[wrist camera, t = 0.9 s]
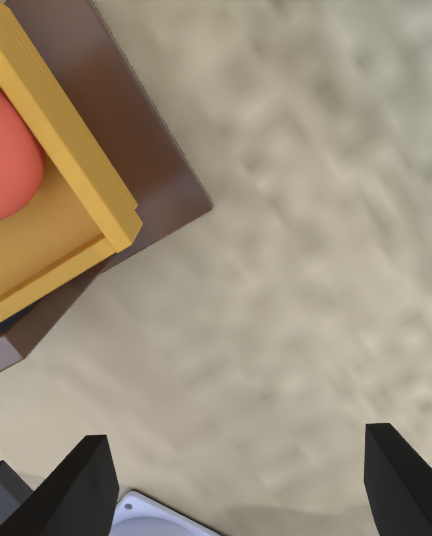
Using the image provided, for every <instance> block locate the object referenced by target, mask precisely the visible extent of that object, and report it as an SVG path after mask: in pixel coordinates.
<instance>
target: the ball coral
mask: <svg viewBox="0 0 432 536" xmlns="http://www.w3.org/2000/svg"><path fill="white" fill-rule="evenodd" d="M44 169H45V150H44V148H43V147H42V146H41V144H40V143H39V141H38V140H37V138H36V137H35V136H34V134H33V133H32V131H31V130H30V128H29V127H28V126H27V124H26V123H25V121H24V120H23V118H22V117H21V116H20V114H19V113H18V111H17V110H16V108H15V107H14V106H13V104H12V103H11V101H10V100H9V98H8V97H7V96H6V94H5V93H4V91H3V90H2V88H1V87H0V220H2V219H5V218H7V217H9V216H11V215H13V214H14V213H16V212H17V211H19V210H20V209H22V208H23V207H24V206H25V205H26V204H27V203H28V202H29V201H30V200H31V199H32V197H33V196H34V195H35V193H36V191H37V190H38V188H39V186H40V184H41V181H42V178H43V175H44Z"/></svg>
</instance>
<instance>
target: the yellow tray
mask: <svg viewBox="0 0 432 536" xmlns="http://www.w3.org/2000/svg"><path fill="white" fill-rule="evenodd" d="M0 87H1V88H2V90H3V91H4V93H5V94H6V96H7V97H8V98H9V100H10V101H11V103H12V104H13V106H14V107H15V108H16V110H17V111H18V113H19V114H20V116H21V117H22V118H23V120H24V121H25V123H26V124H27V126H28V127H29V128H30V130H31V131H32V133H33V134H34V136H35V137H36V138H37V140H38V141H39V143H40V144H41V146H42V147H43V148H44V150H45V169H44V175H43V178H42V181H41V184H40V186H39V188H38V190H37V191H36V193H35V195H34V196H33V197H32V199H31V200H30V201H29V202H28V203H27V204H26V205H25V206H24V207H23V208H22V209H20V210H19V211H17V212H16V213H14V214H13V215H11V216H9V217H7V218H5V219H2V220H0V323H1V322H2V321H4V320H5V319H7V318H9V317H10V316H12V315H14V314H15V313H17V312H19V311H20V310H22V309H24V308H25V307H27V306H28V305H30V304H32V303H33V302H35V301H37V300H38V299H40V298H42V297H43V296H45V295H46V294H48V293H50V292H51V291H53V290H55V289H56V288H58V287H60V286H61V285H63V284H65V283H66V282H68V281H69V280H71V279H73V278H74V277H76V276H78V275H79V274H81V273H83V272H84V271H86V270H87V269H89V268H91V267H92V266H94V265H96V264H97V263H99V262H101V261H102V260H104V259H105V258H107V257H109V256H110V255H112V254H114V253H115V252H117V253H119V252H121V251H122V250H124V249H126V248H127V247H129V246H131V245H132V243H133V242H134V240H135V238H136V236H137V234H138V232H139V231H140V229H141V227H142V225H143V222H142V221H141V219H140V218H139V216H138V215H137V213H136V212H135V209H136V208H137V206H138V204H137V202H136V201H135V199H134V198H133V196H132V194H131V193H130V191H129V190H128V188H127V187H126V185H125V184H124V182H123V181H122V179H121V178H120V176H119V175H118V173H117V172H116V170H115V169H114V167H113V165H112V164H111V162H110V161H109V159H108V158H107V156H106V155H105V153H104V152H103V150H102V149H101V147H100V146H99V144H98V143H97V141H96V140H95V138H94V137H93V135H92V133H91V132H90V130H89V129H88V127H87V126H86V124H85V123H84V121H83V120H82V118H81V117H80V115H79V114H78V112H77V111H76V109H75V108H74V106H73V105H72V103H71V101H70V100H69V98H68V97H67V95H66V94H65V92H64V91H63V89H62V88H61V86H60V85H59V83H58V82H57V80H56V79H55V77H54V76H53V74H52V73H51V71H50V69H49V68H48V66H47V65H46V63H45V62H44V60H43V59H42V57H41V56H40V54H39V53H38V51H37V50H36V48H35V47H34V45H33V44H32V42H31V40H30V39H29V37H28V36H27V34H26V33H25V31H24V30H23V28H22V27H21V25H20V24H19V22H18V21H17V19H16V18H15V16H14V15H13V13H12V12H11V10H10V9H9V8H8V7H7V6H6V5H4V4H3V3H2V2H1V1H0ZM33 492H34V491H33V490H32V489H31V488H30V487H29V486H28V485H27V484H26V483H25V482H24V481H23V480H22V479H21V478H20V477H19V476H18V475H17V474H16V472H15V471H14V470H13V469H12V468H11V467H10V466H9V465H8V464H7V463H6V462H5V461H4V460H2V461H0V525H1V524H2V523H3V522H4V521H5V520H6V519H7V518H8V517H9V516H10V515H11V514H12V513H13V512H14V511H15V510H16V509H17V508H18V507H19V506H20V505H21V504H22V503H23V502H24V501H25V500H26V499H27V498H28V497H29V496H30V495H31V494H32V493H33Z"/></svg>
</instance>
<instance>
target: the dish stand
mask: <svg viewBox="0 0 432 536" xmlns="http://www.w3.org/2000/svg"><path fill="white" fill-rule="evenodd" d="M4 5H6V6H7V7H8V8H9V9H10V10H11V12H12V13H13V15H14V16H15V18H16V19H17V21H18V22H19V24H20V25H21V27H22V28H23V30H24V31H25V33H26V34H27V36H28V37H29V39H30V40H31V42H32V44H33V45H34V47H35V48H36V50H37V51H38V53H39V54H40V56H41V57H42V59H43V60H44V62H45V63H46V65H47V66H48V68H49V69H50V71H51V73H52V74H53V76H54V77H55V79H56V80H57V82H58V83H59V85H60V86H61V88H62V89H63V91H64V92H65V94H66V95H67V97H68V98H69V100H70V101H71V103H72V105H73V106H74V108H75V109H76V111H77V112H78V114H79V115H80V117H81V118H82V120H83V121H84V123H85V124H86V126H87V127H88V129H89V130H90V132H91V133H92V135H93V137H94V138H95V140H96V141H97V143H98V144H99V146H100V147H101V149H102V150H103V152H104V153H105V155H106V156H107V158H108V159H109V161H110V162H111V164H112V165H113V167H114V169H115V170H116V172H117V173H118V175H119V176H120V178H121V179H122V181H123V182H124V184H125V185H126V187H127V188H128V190H129V191H130V193H131V194H132V196H133V198H134V199H135V201H136V202H137V204H138V206H137V208H136V209H135V212H136V213H137V215H138V216H139V218H140V219H141V221H142V222H143V225H142V227H141V229H140V231H139V232H138V234H137V236H136V238H135V240H134V242H133V243H132V245H131V246H129V247H127V248H126V249H124V250H122V251H121V252H119V253H117V252H115V253H114V254H112V255H110V256H109V257H107V258H105V259H104V260H102V261H101V262H99V263H97V264H96V265H94V266H92V267H91V268H89V269H87V270H86V271H84V272H83V273H81V274H79V275H78V276H76V277H74V278H73V279H71V280H69V281H68V282H66V283H65V284H63V285H61V286H60V287H58V288H56V289H55V290H53V291H51V292H50V293H48V294H46V295H45V296H43V297H42V298H40V299H38V300H37V301H35V302H33V303H32V304H30V305H28V306H27V307H25V308H24V309H22V310H20V311H19V312H17V313H15V314H14V315H12V316H10V317H9V318H7V319H5V320H4V321H2V322H1V323H0V372H2V371H4V370H5V369H7V368H9V367H11V366H13V365H15V364H16V363H18V362H20V361H22V360H24V359H25V358H26V357H27V356H28V355H29V354H30V353H31V351H32V350H33V349H34V348H35V347H36V346H37V345H38V343H39V342H40V341H41V340H42V339H43V338H44V337H45V335H46V334H47V333H48V332H49V331H50V330H51V329H52V327H53V326H54V325H55V324H56V323H57V322H58V321H59V319H60V318H61V317H62V316H63V315H64V314H65V313H66V311H67V310H68V309H69V308H70V307H71V306H72V304H73V303H74V302H75V301H76V300H77V299H78V298H79V296H80V295H81V294H82V293H83V292H84V291H85V290H86V288H87V287H88V286H89V285H90V284H91V283H92V282H93V280H94V279H95V278H96V277H97V276H98V275H100V274H101V273H103V272H105V271H107V270H108V269H110V268H112V267H113V266H115V265H117V264H119V263H120V262H122V261H124V260H126V259H127V258H129V257H131V256H133V255H134V254H136V253H138V252H140V251H141V250H143V249H145V248H147V247H148V246H150V245H152V244H154V243H155V242H157V241H159V240H160V239H162V238H164V237H166V236H167V235H169V234H171V233H173V232H174V231H176V230H178V229H180V228H181V227H183V226H185V225H187V224H188V223H190V222H192V221H194V220H195V219H197V218H199V217H201V216H202V215H204V214H206V213H207V212H209V211H211V210H212V209H213V206H214V205H213V203H212V201H211V200H210V198H209V196H208V195H207V193H206V191H205V189H204V188H203V186H202V184H201V183H200V181H199V179H198V178H197V176H196V174H195V173H194V171H193V169H192V168H191V166H190V164H189V163H188V161H187V159H186V158H185V156H184V154H183V153H182V151H181V149H180V148H179V146H178V144H177V142H176V141H175V139H174V137H173V136H172V134H171V132H170V131H169V129H168V127H167V126H166V124H165V122H164V121H163V119H162V117H161V116H160V114H159V112H158V111H157V109H156V107H155V106H154V104H153V102H152V101H151V99H150V97H149V95H148V94H147V92H146V90H145V89H144V87H143V85H142V84H141V82H140V80H139V79H138V77H137V75H136V74H135V72H134V70H133V69H132V67H131V65H130V64H129V62H128V60H127V59H126V57H125V55H124V54H123V52H122V50H121V49H120V47H119V45H118V43H117V42H116V40H115V38H114V37H113V35H112V33H111V32H110V30H109V28H108V27H107V25H106V23H105V22H104V20H103V18H102V17H101V15H100V13H99V12H98V10H97V8H96V7H95V5H94V3H93V2H92V0H7V1H6V2H5V3H4Z"/></svg>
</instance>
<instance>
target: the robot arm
mask: <svg viewBox="0 0 432 536" xmlns="http://www.w3.org/2000/svg"><path fill="white" fill-rule="evenodd" d="M364 484H365V488H366V492H367V495H368V499H369V503H370V507H371V510H372V514H373V518H374V521H375V524H376V527H377V530H378V532H379V535H380V536H432V468H431V467H430V466H429V465H428V464H427V463H426V462H425V461H424V460H423V459H422V457H421V456H420V455H419V454H418V453H417V452H416V451H415V450H414V449H413V448H412V447H411V446H410V445H409V443H408V442H407V441H406V440H405V439H404V438H403V437H402V436H401V435H400V434H399V432H398V431H397V430H396V429H395V428H394V427H393V426H392V425H391V424H390V423H375V424H366V432H365V462H364ZM118 494H119V484H118V480H117V476H116V472H115V468H114V464H113V460H112V456H111V451H110V447H109V443H108V439H107V435H86V436H85V437H84V438H83V439H82V440H81V441H80V442H79V443H78V444H77V446H76V447H75V448H74V449H73V450H72V451H71V452H70V453H69V454H68V455H67V456H66V458H65V459H64V460H63V461H62V462H61V463H60V464H59V465H58V466H57V467H56V468H55V470H54V471H53V472H52V473H51V474H50V475H49V476H48V477H47V478H46V479H45V480H44V481H43V483H42V484H41V485H40V486H39V487H38V488H37V489H36V490H35V491H34V492H33V493H32V494H31V495H30V496H29V497H28V498H27V499H26V500H25V501H24V502H23V503H22V504H21V505H20V506H19V507H18V508H17V509H16V510H15V511H14V512H13V513H12V514H11V515H10V516H9V517H8V518H7V519H6V520H5V521H4V522H3V523H2V524H1V525H0V536H221V535H219V534H217V533H215V532H213V531H211V530H209V529H207V528H205V527H204V526H202V525H200V524H198V523H196V522H194V521H192V520H190V519H188V518H186V517H184V516H182V515H180V514H178V513H176V512H175V511H173V510H171V509H169V508H167V507H165V506H163V505H161V504H159V503H157V502H155V501H153V500H151V499H149V498H147V497H145V496H144V495H142V494H140V493H138V492H135V491H130V492H128V493H127V494H126V495H125V496H124V497H123V499H122V500H121V501H120V502H119V504H118V505H117V506H116V504H117V499H118Z"/></svg>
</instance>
